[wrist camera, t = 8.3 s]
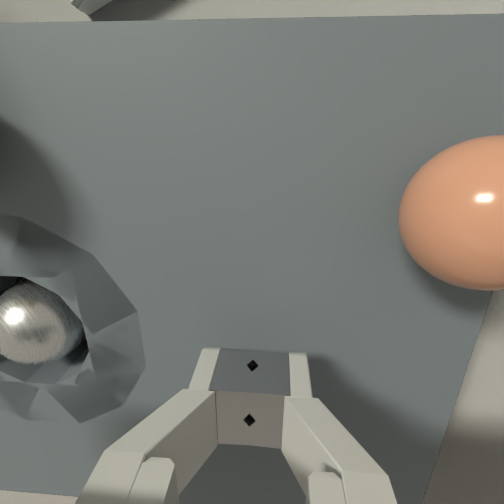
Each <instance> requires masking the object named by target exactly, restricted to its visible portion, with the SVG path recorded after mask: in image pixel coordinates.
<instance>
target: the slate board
mask: <svg viewBox="0 0 504 504" xmlns="http://www.w3.org/2000/svg"><path fill="white" fill-rule="evenodd" d="M493 135H504V14H465V15H411V16H358V17H304V18H250V19H196V20H142V21H88V22H35V23H0V296H1V295H2V294H3V293H4V292H5V291H7V290H8V289H9V288H11V287H12V286H14V285H16V284H15V282H16V279H17V276H18V277H25V278H27V279H29V280H31V281H33V282H35V283H37V284H39V285H41V286H43V287H44V288H46V289H48V290H50V291H52V292H54V293H56V294H58V295H59V296H60V297H61V298H62V299H63V300H64V302H65V303H66V304H67V305H68V306H69V307H70V309H71V310H72V311H73V312H74V313H75V314H76V316H77V317H78V318H79V319H80V320H81V321H82V323H83V327H84V331H85V336H86V340H87V341H81V343H80V344H79V345H78V346H77V347H76V348H75V349H73V350H72V351H71V352H70V353H68V354H67V355H65V356H63V357H61V358H60V359H57V360H54V361H52V362H48V363H44V364H32V365H30V364H22V363H17V362H14V361H12V360H9V359H7V358H6V357H4V356H2V355H1V354H0V490H6V491H17V492H29V493H40V494H51V495H63V496H74V497H79V495H80V494H81V492H82V490H83V488H84V486H85V485H86V483H87V481H88V479H89V477H90V475H91V474H92V472H93V470H94V468H95V466H96V465H97V463H98V461H99V459H100V457H101V455H102V454H103V452H104V450H106V449H107V448H108V447H109V446H111V445H112V444H113V443H114V442H116V441H117V440H118V439H120V438H121V437H122V436H123V435H125V434H126V433H127V432H129V431H130V430H131V429H132V428H134V427H135V426H136V425H137V424H139V423H140V422H141V421H143V420H144V419H145V418H146V417H148V416H149V415H150V414H151V413H153V412H154V411H155V410H157V409H158V408H159V407H160V406H162V405H163V404H164V403H165V402H167V401H168V400H169V399H171V398H172V397H173V396H174V395H176V394H177V393H178V392H179V391H181V390H182V389H188V388H189V385H190V382H191V380H192V377H193V374H194V371H195V368H196V365H197V363H198V360H199V357H200V354H201V351H202V349H203V348H204V347H214V348H230V349H242V350H254V351H270V352H288V353H289V352H301V353H306V354H307V358H308V365H309V373H310V380H311V388H312V395H313V398H319V400H320V401H321V402H322V403H323V404H324V405H325V406H326V407H327V408H328V410H329V411H330V412H331V413H332V414H333V415H334V416H335V417H336V418H337V420H338V421H339V422H340V423H341V424H342V425H343V426H344V427H345V428H346V430H347V431H348V432H349V433H350V434H351V435H352V436H353V437H354V438H355V440H356V441H357V442H358V443H359V444H360V445H361V446H362V447H363V448H364V450H365V451H366V452H367V453H368V454H369V455H370V456H371V457H372V458H373V459H374V461H375V462H376V463H377V464H378V465H379V466H380V467H381V468H382V469H383V471H384V472H385V473H386V474H387V475H388V476H389V480H390V483H391V486H392V489H393V492H394V495H395V498H396V501H397V504H422V501H423V498H424V495H425V492H426V489H427V486H428V483H429V480H430V477H431V474H432V471H433V468H434V465H435V462H436V459H437V456H438V453H439V450H440V447H441V444H442V441H443V438H444V435H445V432H446V429H447V426H448V423H449V420H450V418H451V415H452V412H453V409H454V406H455V403H456V400H457V397H458V394H459V391H460V388H461V385H462V382H463V379H464V376H465V373H466V370H467V367H468V364H469V361H470V358H471V355H472V352H473V349H474V346H475V343H476V340H477V337H478V334H479V331H480V328H481V325H482V322H483V319H484V316H485V313H486V310H487V307H488V304H489V301H490V298H491V295H492V292H493V290H490V291H485V290H472V289H466V288H462V287H458V286H454V285H451V284H448V283H446V282H444V281H441V280H439V279H437V278H435V277H434V276H432V275H431V274H429V273H428V272H426V271H425V270H424V269H422V268H421V267H420V266H419V265H418V264H417V263H416V262H415V261H414V260H413V259H412V257H411V256H410V255H409V253H408V252H407V250H406V248H405V246H404V244H403V242H402V239H401V236H400V233H399V227H398V210H399V204H400V200H401V197H402V195H403V192H404V190H405V188H406V186H407V184H408V183H409V181H410V180H411V178H412V177H413V175H414V174H415V173H416V172H417V171H418V170H419V169H420V168H421V167H422V166H423V165H424V164H425V163H426V162H427V161H428V160H430V159H431V158H432V157H434V156H435V155H437V154H438V153H440V152H442V151H443V150H445V149H447V148H449V147H451V146H453V145H455V144H458V143H461V142H464V141H467V140H470V139H474V138H478V137H484V136H493ZM305 501H306V496H305V494H304V492H303V490H302V488H301V486H300V484H299V482H298V481H297V479H296V477H295V475H294V473H293V471H292V469H291V468H290V466H289V464H288V462H287V460H286V458H285V456H284V455H283V453H282V451H281V449H278V448H269V447H261V446H252V445H236V444H217V447H216V448H215V450H214V451H213V452H212V453H211V455H210V456H209V457H208V459H207V460H206V461H205V462H204V464H203V465H202V466H201V468H200V469H199V470H198V471H197V473H196V474H195V475H194V476H193V478H192V479H191V480H190V482H189V483H188V484H187V485H186V487H185V488H184V489H183V491H182V492H181V493H180V494H179V503H180V504H305Z"/></svg>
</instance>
